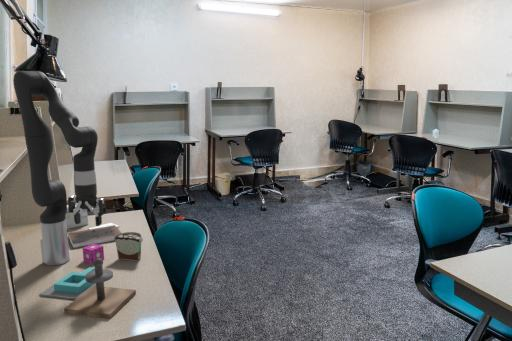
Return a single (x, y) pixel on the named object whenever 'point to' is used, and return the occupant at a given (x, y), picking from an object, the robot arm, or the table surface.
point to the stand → (100, 295)
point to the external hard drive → (104, 226)
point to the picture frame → (93, 236)
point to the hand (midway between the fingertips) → (88, 224)
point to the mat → (62, 293)
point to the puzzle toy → (92, 253)
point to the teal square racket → (68, 286)
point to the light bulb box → (70, 218)
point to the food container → (129, 246)
